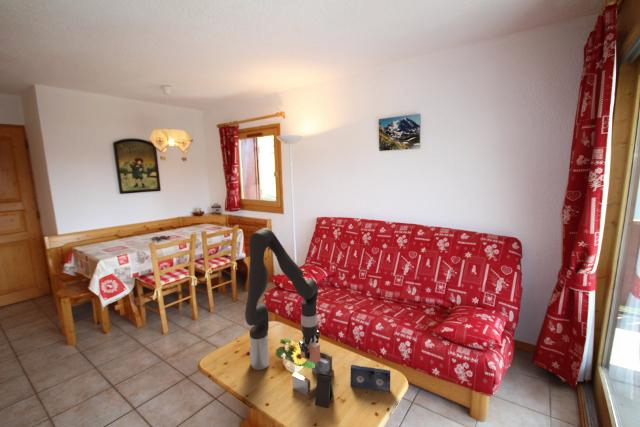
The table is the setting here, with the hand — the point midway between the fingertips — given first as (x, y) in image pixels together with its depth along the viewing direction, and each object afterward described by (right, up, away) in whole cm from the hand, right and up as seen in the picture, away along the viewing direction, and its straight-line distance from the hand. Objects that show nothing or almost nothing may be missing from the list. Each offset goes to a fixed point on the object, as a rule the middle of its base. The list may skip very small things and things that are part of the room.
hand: (310, 355), depth 144 cm
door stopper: (+7, -16, -8) cm, 19 cm away
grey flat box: (-4, -15, -3) cm, 16 cm away
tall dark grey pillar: (+1, -14, +3) cm, 14 cm away
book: (0, -1, 0) cm, 1 cm away
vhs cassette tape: (+28, -14, -2) cm, 32 cm away
